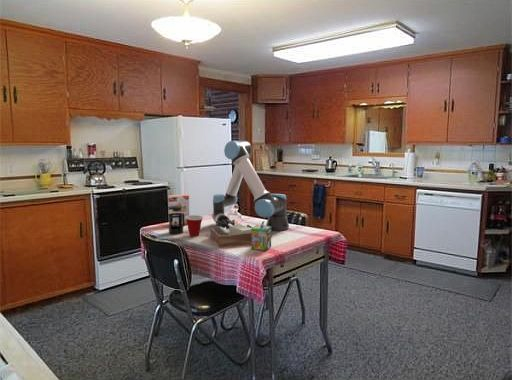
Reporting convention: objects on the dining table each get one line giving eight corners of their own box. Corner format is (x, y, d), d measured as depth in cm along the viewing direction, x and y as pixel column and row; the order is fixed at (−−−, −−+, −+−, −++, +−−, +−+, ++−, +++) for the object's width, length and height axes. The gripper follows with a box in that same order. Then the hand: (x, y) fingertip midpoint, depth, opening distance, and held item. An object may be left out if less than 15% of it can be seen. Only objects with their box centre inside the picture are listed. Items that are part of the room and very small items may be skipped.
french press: (173, 235, 227) (172, 199, 224) (164, 233, 233) (163, 197, 230) (188, 231, 236) (187, 196, 232) (179, 229, 242) (178, 195, 238)
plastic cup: (196, 238, 219) (195, 219, 217) (182, 236, 224) (181, 217, 222) (207, 234, 228) (206, 215, 226) (193, 232, 233) (192, 214, 232)
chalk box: (255, 244, 205) (255, 219, 203) (271, 246, 202) (271, 219, 200) (250, 249, 196) (250, 222, 194) (267, 251, 193) (267, 223, 191)
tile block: (229, 239, 218) (229, 226, 217) (239, 237, 222) (239, 224, 221) (243, 244, 207) (243, 230, 206) (253, 242, 211) (253, 228, 210)
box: (210, 237, 221) (210, 227, 220) (248, 233, 229) (248, 224, 228) (219, 247, 201) (219, 236, 200) (260, 242, 209) (260, 232, 208)
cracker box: (169, 226, 251) (168, 196, 249) (169, 224, 257) (168, 195, 254) (190, 225, 255) (189, 195, 252) (189, 223, 260) (188, 194, 258)
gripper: (232, 224, 243) (242, 233, 221) (212, 226, 239) (221, 235, 217) (231, 213, 242) (242, 221, 220) (212, 215, 238) (221, 223, 216)
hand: (232, 228), depth 219 cm, fingers closed
